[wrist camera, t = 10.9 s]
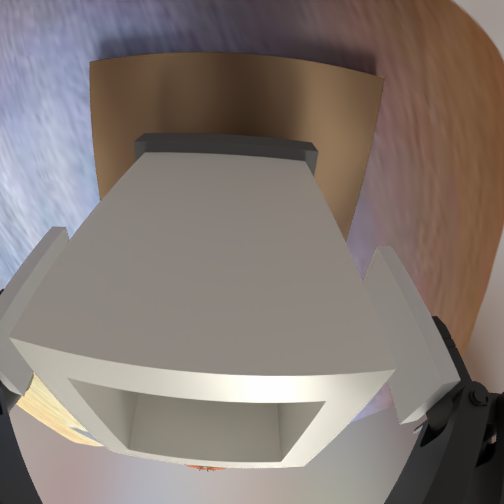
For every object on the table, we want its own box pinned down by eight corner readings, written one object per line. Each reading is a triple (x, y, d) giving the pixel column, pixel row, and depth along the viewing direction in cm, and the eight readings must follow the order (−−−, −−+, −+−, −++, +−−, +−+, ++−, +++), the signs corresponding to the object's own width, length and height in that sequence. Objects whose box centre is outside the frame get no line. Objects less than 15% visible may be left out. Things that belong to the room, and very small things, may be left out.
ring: (155, 264, 18) (149, 281, 16) (144, 133, 13) (133, 141, 12) (287, 272, 18) (290, 289, 17) (311, 142, 13) (318, 151, 12)
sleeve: (156, 275, 16) (110, 451, 8) (144, 152, 12) (8, 337, 4) (282, 282, 17) (303, 466, 9) (305, 161, 12) (395, 369, 4)
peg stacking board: (122, 275, 22) (71, 415, 12) (98, 60, 13) (-75, 107, 3) (324, 287, 23) (359, 434, 13) (376, 76, 14) (545, 138, 4)
